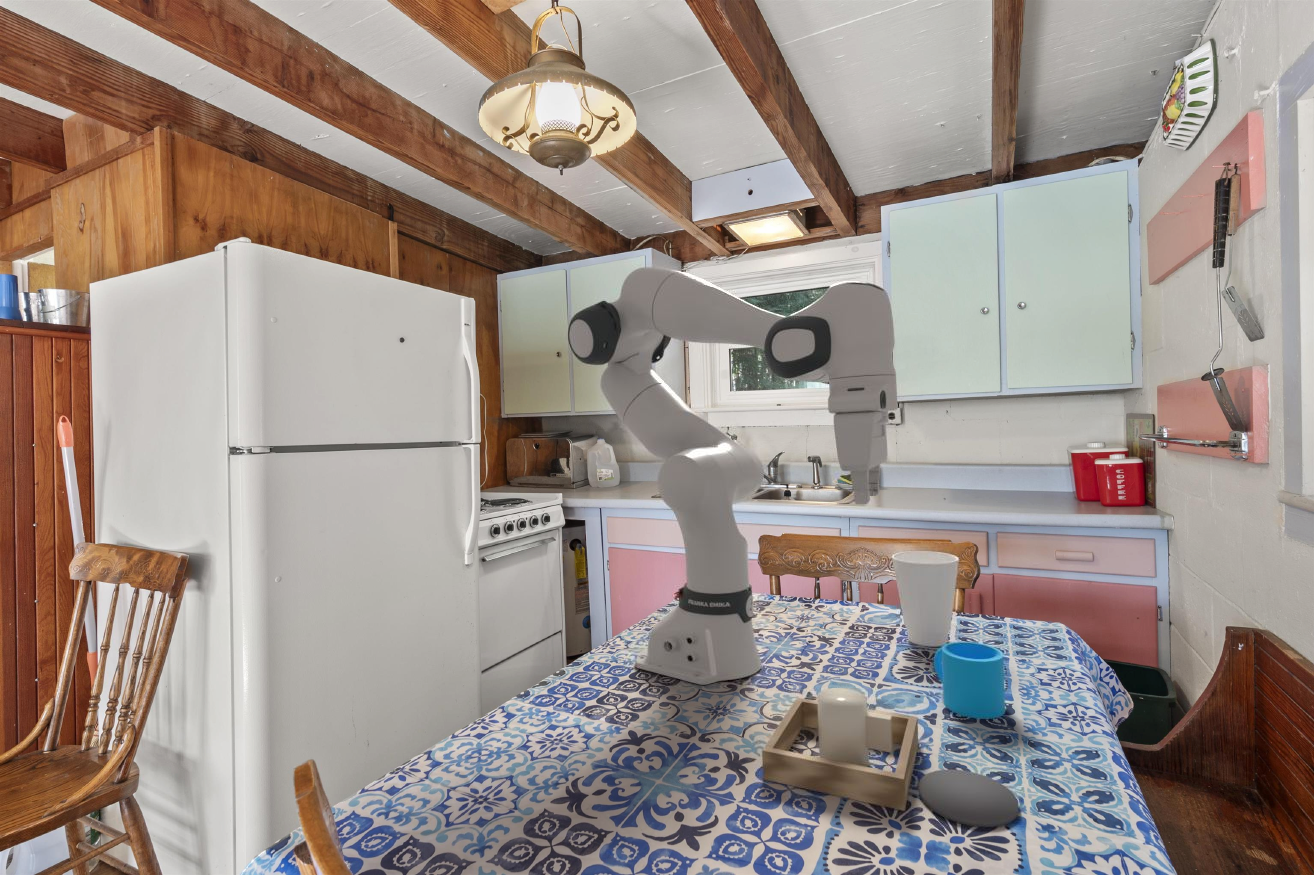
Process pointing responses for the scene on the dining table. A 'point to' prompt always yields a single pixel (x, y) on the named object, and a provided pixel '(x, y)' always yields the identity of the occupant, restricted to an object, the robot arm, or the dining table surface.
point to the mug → (972, 679)
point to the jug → (850, 727)
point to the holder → (836, 774)
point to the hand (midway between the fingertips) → (867, 499)
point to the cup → (926, 594)
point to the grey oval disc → (968, 798)
